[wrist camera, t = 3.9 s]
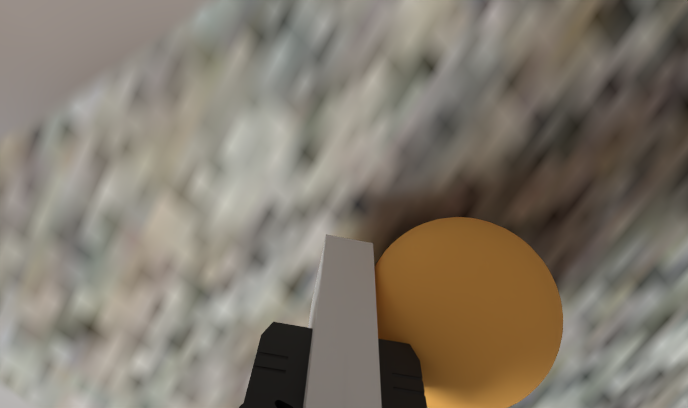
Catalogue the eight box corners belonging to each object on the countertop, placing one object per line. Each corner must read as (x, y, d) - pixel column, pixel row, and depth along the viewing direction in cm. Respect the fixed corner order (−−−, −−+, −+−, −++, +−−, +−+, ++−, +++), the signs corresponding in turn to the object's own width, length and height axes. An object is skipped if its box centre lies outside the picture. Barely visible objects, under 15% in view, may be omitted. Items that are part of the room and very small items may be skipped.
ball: (492, 182, 16) (643, 279, 12) (442, 310, 19) (555, 427, 15) (353, 186, 14) (491, 315, 9) (315, 337, 16) (413, 491, 12)
